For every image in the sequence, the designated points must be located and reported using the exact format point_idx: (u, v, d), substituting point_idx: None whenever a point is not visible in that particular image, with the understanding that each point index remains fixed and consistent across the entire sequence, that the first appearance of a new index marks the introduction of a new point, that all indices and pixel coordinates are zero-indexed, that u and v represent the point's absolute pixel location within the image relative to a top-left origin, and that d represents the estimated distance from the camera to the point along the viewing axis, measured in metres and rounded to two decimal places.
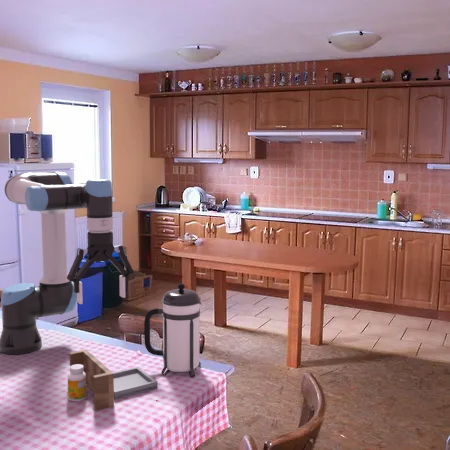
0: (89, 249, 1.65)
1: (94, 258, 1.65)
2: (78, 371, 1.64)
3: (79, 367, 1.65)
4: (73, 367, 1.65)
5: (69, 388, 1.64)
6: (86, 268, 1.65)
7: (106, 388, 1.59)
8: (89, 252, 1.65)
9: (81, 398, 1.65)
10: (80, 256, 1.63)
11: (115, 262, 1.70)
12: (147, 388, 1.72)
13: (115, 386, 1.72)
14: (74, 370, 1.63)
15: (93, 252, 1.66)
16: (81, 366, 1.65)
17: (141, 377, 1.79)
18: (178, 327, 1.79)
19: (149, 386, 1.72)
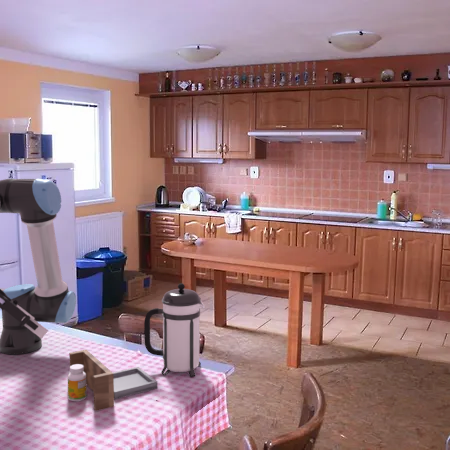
0: None
1: None
2: (78, 371, 1.64)
3: (79, 367, 1.65)
4: (73, 367, 1.65)
5: (69, 388, 1.64)
6: None
7: (106, 388, 1.59)
8: None
9: (81, 398, 1.65)
10: None
11: None
12: (147, 388, 1.72)
13: (115, 386, 1.72)
14: (74, 370, 1.63)
15: None
16: (81, 366, 1.65)
17: (141, 377, 1.79)
18: (178, 327, 1.79)
19: (149, 386, 1.72)
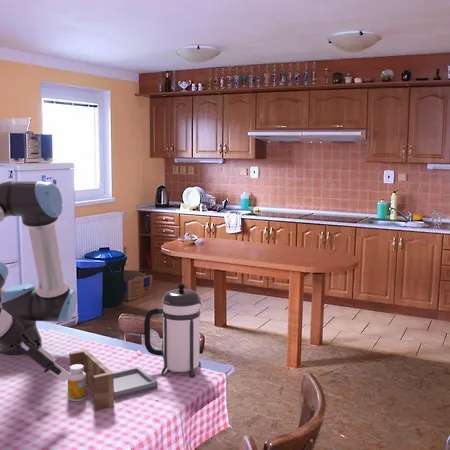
0: None
1: None
2: (78, 371, 1.64)
3: (79, 367, 1.65)
4: (73, 367, 1.65)
5: (69, 388, 1.64)
6: None
7: (106, 388, 1.59)
8: None
9: (81, 398, 1.65)
10: None
11: None
12: (147, 388, 1.72)
13: (115, 386, 1.72)
14: (74, 370, 1.63)
15: None
16: (81, 366, 1.65)
17: (141, 377, 1.79)
18: (179, 327, 1.79)
19: (149, 386, 1.72)
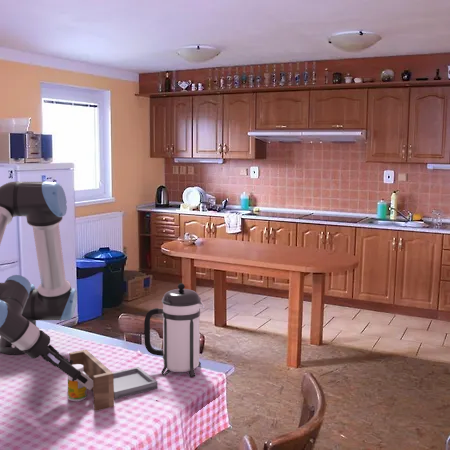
0: None
1: None
2: None
3: (79, 367, 1.65)
4: None
5: (69, 388, 1.64)
6: None
7: (106, 388, 1.59)
8: None
9: (81, 398, 1.65)
10: None
11: None
12: (147, 388, 1.72)
13: (115, 386, 1.72)
14: None
15: None
16: (81, 366, 1.65)
17: (141, 377, 1.79)
18: (178, 327, 1.79)
19: (149, 386, 1.72)
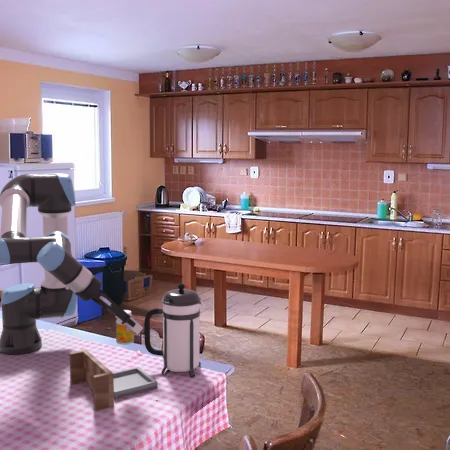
0: None
1: None
2: None
3: (127, 312, 1.71)
4: None
5: (118, 332, 1.70)
6: None
7: (106, 388, 1.59)
8: None
9: (129, 342, 1.71)
10: None
11: (109, 310, 1.66)
12: (147, 388, 1.72)
13: (115, 386, 1.72)
14: None
15: None
16: (129, 311, 1.72)
17: (141, 377, 1.79)
18: (178, 327, 1.79)
19: (149, 386, 1.72)
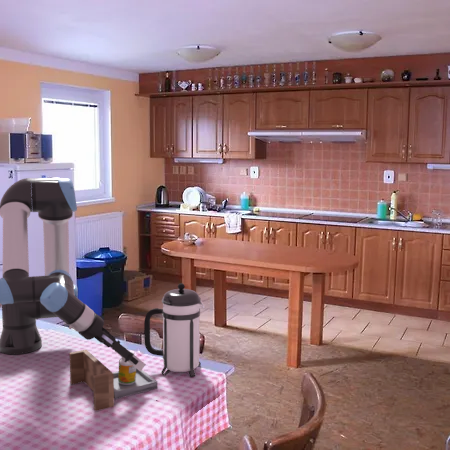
0: None
1: None
2: None
3: None
4: None
5: (120, 372, 1.73)
6: None
7: (106, 388, 1.59)
8: None
9: (131, 382, 1.73)
10: None
11: None
12: (147, 388, 1.72)
13: (115, 386, 1.72)
14: None
15: None
16: (132, 352, 1.74)
17: (141, 377, 1.79)
18: (178, 327, 1.79)
19: (149, 386, 1.72)
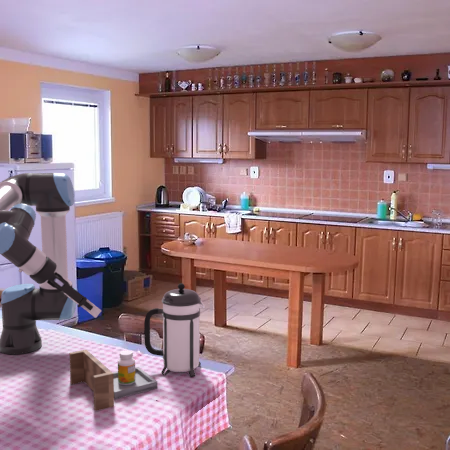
0: None
1: None
2: (128, 357, 1.72)
3: (128, 353, 1.73)
4: (123, 353, 1.74)
5: (119, 373, 1.73)
6: None
7: (106, 388, 1.59)
8: None
9: (131, 382, 1.73)
10: None
11: (64, 292, 1.60)
12: (147, 388, 1.72)
13: (115, 386, 1.72)
14: (125, 356, 1.72)
15: None
16: (130, 352, 1.74)
17: (141, 377, 1.79)
18: (178, 327, 1.79)
19: (149, 386, 1.72)
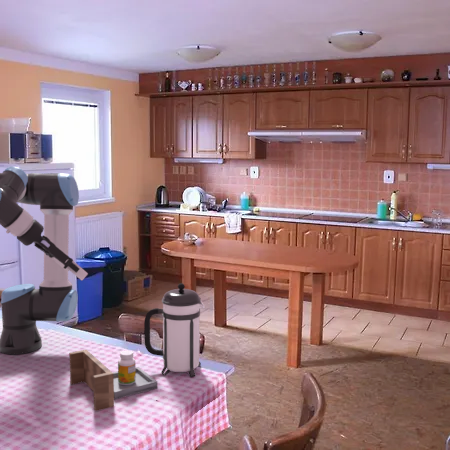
0: None
1: None
2: (128, 357, 1.72)
3: (129, 353, 1.73)
4: (123, 353, 1.73)
5: (120, 373, 1.73)
6: None
7: (106, 388, 1.59)
8: None
9: (131, 382, 1.73)
10: (33, 242, 1.71)
11: (51, 254, 1.63)
12: (147, 388, 1.72)
13: (115, 386, 1.72)
14: (125, 356, 1.72)
15: (35, 242, 1.67)
16: (131, 352, 1.74)
17: (141, 377, 1.79)
18: (178, 327, 1.79)
19: (149, 386, 1.72)
